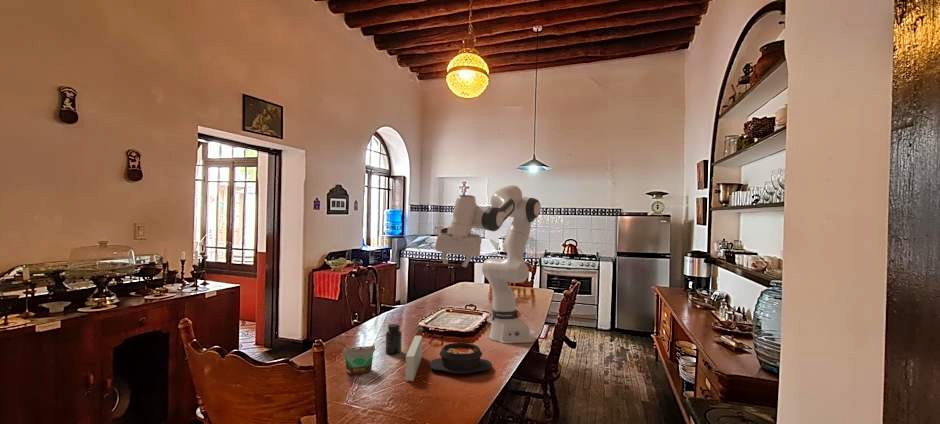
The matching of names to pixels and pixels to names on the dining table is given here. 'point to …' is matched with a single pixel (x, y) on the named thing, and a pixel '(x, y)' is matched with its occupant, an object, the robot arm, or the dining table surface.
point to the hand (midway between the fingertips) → (454, 265)
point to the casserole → (460, 359)
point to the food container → (359, 360)
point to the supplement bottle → (393, 340)
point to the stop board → (413, 358)
